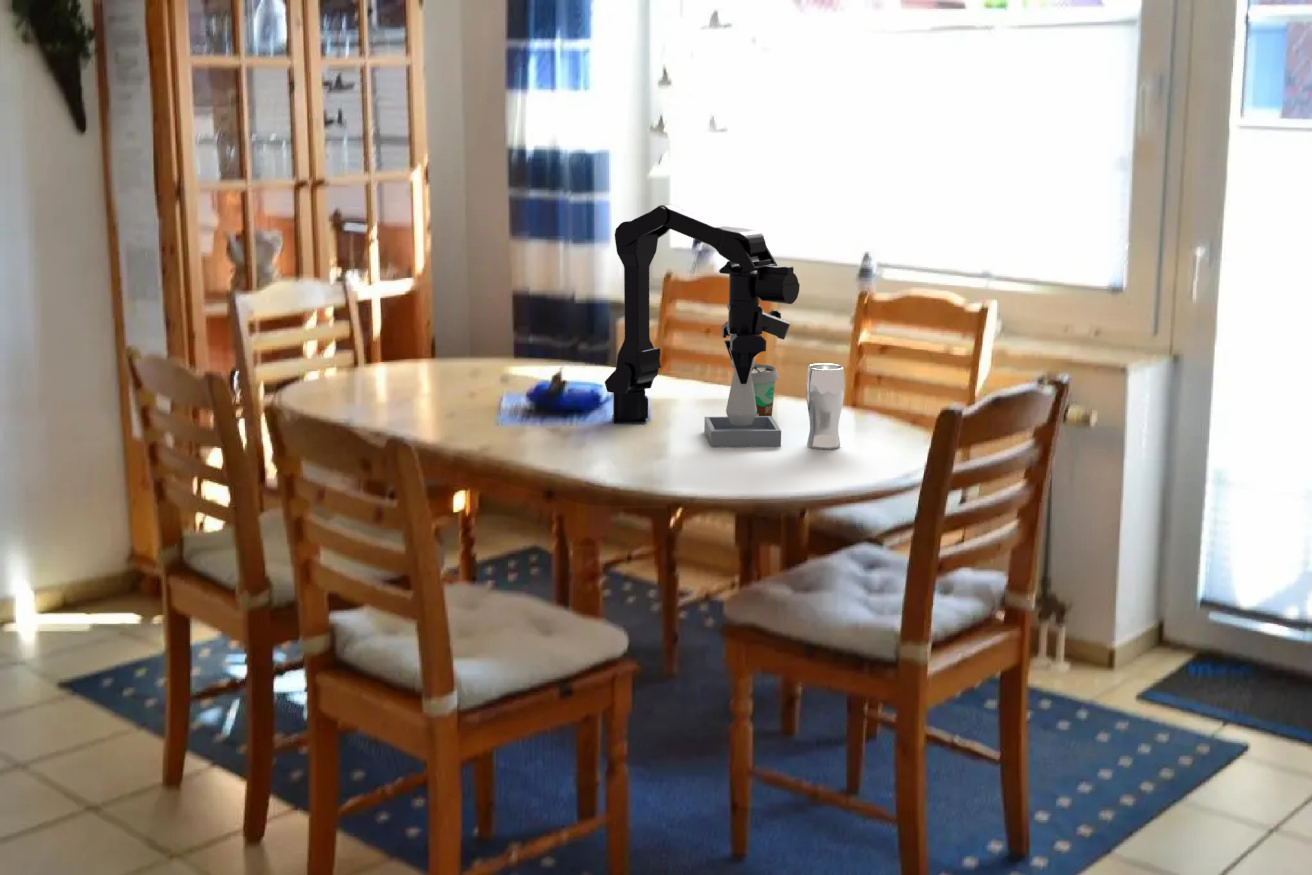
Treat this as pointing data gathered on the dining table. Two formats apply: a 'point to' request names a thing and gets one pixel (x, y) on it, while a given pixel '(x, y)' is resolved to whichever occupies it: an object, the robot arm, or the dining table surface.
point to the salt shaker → (741, 400)
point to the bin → (742, 432)
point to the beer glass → (824, 404)
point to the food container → (764, 387)
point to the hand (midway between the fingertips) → (742, 381)
